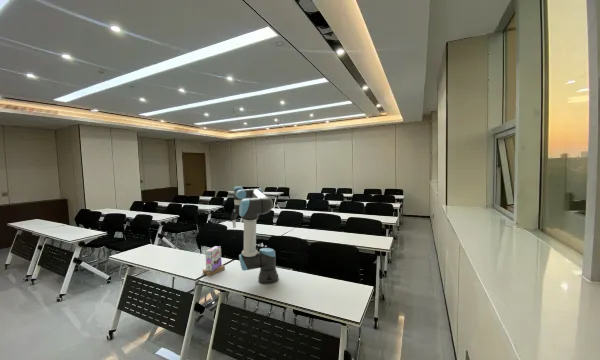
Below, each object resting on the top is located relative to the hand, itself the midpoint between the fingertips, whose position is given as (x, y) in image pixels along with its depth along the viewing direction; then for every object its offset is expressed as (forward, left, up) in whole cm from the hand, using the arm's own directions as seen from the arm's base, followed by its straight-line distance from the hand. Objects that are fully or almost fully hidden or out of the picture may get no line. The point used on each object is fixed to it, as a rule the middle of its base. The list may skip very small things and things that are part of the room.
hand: (239, 228), depth 218 cm
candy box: (+10, +21, -30) cm, 38 cm away
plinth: (+10, +21, -33) cm, 40 cm away
